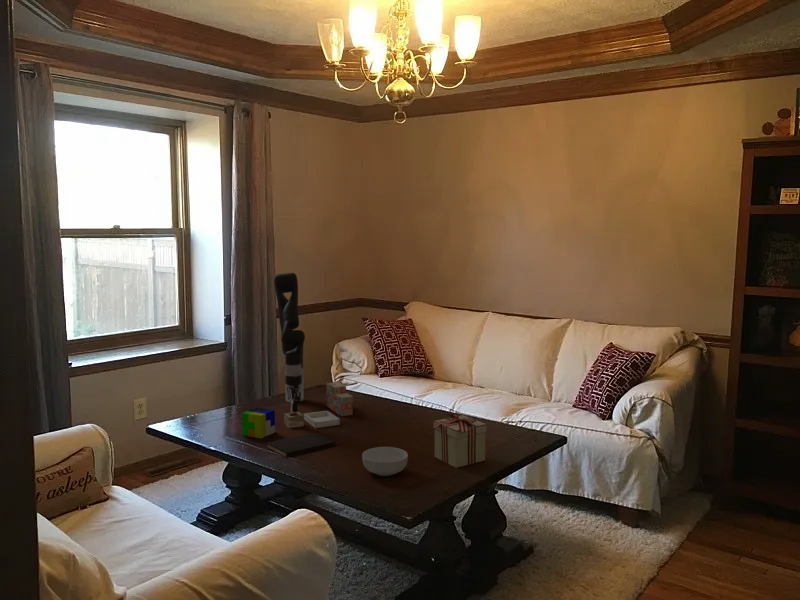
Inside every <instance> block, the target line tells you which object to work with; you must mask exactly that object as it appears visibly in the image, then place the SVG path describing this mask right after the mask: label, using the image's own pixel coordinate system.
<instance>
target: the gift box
mask: <svg viewBox="0 0 800 600" xmlns="http://www.w3.org/2000/svg"><path fill="white" fill-rule="evenodd" d="M445 415H446V418H442V419H437V420H434V421H433V430H434V458H435V459H437V460H440V461H441V462H443V463H445V464H448V465H449V466H451V467H454V468H456V469H458V468H460V467H461V468H462V467H464V466H469V465H473V464H477V463H482V462H484V461H485V462H486V433H487V424H486V423H485V422H482V421H480V420H477V419H475V418H471V417H469V416H466V415H464V414H461V415H457V414H454V413H448V412H447V413H446V414H445ZM447 416H449V417H447Z"/></svg>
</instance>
